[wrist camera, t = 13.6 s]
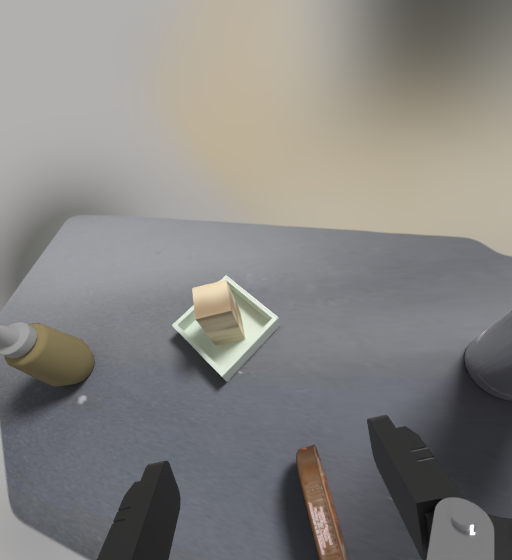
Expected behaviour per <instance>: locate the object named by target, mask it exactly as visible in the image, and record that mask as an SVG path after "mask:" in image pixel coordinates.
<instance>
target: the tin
mask: <svg viewBox="0 0 512 560" xmlns="http://www.w3.org/2000/svg"><path fill="white" fill-rule="evenodd" d="M296 462H297V468H298V473H299V478H300V483H301V487H302V492H303V496H304V500H305V504H306V508H307V513H308V517H309V521H310V525H311V529H312V533H313V537H314V541H315V545H316V549H317V553H318V557H319V560H349V558H348V555H347V551H346V547H345V544H344V540H343V536H342V533H341V529H340V526H339V522H338V519H337V515H336V512H335V508H334V505H333V501H332V498H331V494H330V491H329V487H328V484H327V480H326V477H325V474H324V470H323V467H322V464H321V460H320V457H319V454H318V452H317V449H316V446H315V444H313V446H309V447H306V448H302V449H299V450H298V451H297V454H296Z"/></svg>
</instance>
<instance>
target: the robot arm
mask: <svg viewBox="0 0 512 560" xmlns="http://www.w3.org/2000/svg"><path fill="white" fill-rule="evenodd" d="M465 365H466V368H467V371H468V373H469V375H470V376H471V378H472V379H473V380H474V382H475V383H476V384H477V385H478V386H479V387H480V388H482V389H483V390H484V391H486V392H487V393H489V394H491V395H493V396H495V397H498V398H500V399H504V400H509V401H512V311H511V312H510V313H509V314H507V315H506V316H505V317H504V318H502V319H501V320H500V321H498V322H497V323H496V324H494V325H493V326H492V327H490V328H489V329H488V330H486V331H485V332H484V333H482V334H481V335H480V336H479V337H477V338H476V339H475V340H473V341H472V342H471V343H470V344H469V345H468V347H467V349H466V352H465ZM367 423H368V429H369V435H370V441H371V447H372V452H373V456H374V460H375V462H376V465H377V468H378V470H379V472H380V474H381V476H382V478H383V480H384V482H385V484H386V486H387V488H388V490H389V492H390V495H391V497H392V499H393V501H394V503H395V505H396V507H397V509H398V511H399V513H400V515H401V517H402V519H403V521H404V523H405V525H406V527H407V529H408V531H409V533H410V536H411V538H412V540H413V542H414V544H415V546H416V548H417V550H418V552H419V554H420V556H421V558H422V560H512V519H507V518H500V517H496V516H492V515H489V514H487V513H485V512H484V511H483V510H482V509H481V508H480V507H478V506H477V505H475V504H474V503H472V502H470V501H468V500H466V499H465V498H464V497H463V495H462V494H461V493H460V491H459V490H458V489H457V487H456V486H455V484H454V483H453V482H452V480H451V479H450V478H449V476H448V475H447V474H446V472H445V471H444V469H443V468H442V467H441V465H440V464H439V463H438V461H437V460H436V459H435V458H434V456H433V455H432V453H431V452H430V450H429V449H427V446H426V445H425V444H424V442H423V441H422V440H421V438H420V437H419V435H417V434H416V433H415V432H413V431H412V430H410V429H409V428H407V427H406V426H405V427H400V428H395V426H394V424H393V423H392V421H391V420H390V418H389V417H388V416H387V415H384V416H379V417H374V418H369V419H367ZM179 511H180V493H179V489H178V486H177V483H176V481H175V478H174V475H173V472H172V469H171V466H170V464H169V462H168V461H163V462H158V463H153V464H149V465H147V467H146V468H145V471H144V473H143V476H142V478H141V481H139V482H135V483H134V484H133V485H132V487H131V488H130V489H129V490H128V492H127V493H126V494H125V496H124V498H123V500H122V503H121V505H120V507H119V512H117V514H116V517H115V519H114V523H113V524H112V526H111V528H110V530H109V533H108V535H107V537H106V540H105V542H104V544H103V547H102V549H101V551H100V554H99V556H98V558H97V560H168V559H169V554H170V550H171V546H172V541H173V537H174V532H175V528H176V524H177V519H178V515H179Z"/></svg>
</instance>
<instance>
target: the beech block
mask: <svg viewBox="0 0 512 560" xmlns="http://www.w3.org/2000/svg"><path fill="white" fill-rule="evenodd" d="M192 291H193V301H194V311H195V320H196V321H197V322H198V323H199V325H200V326H201V327H202V329H203V330H204V331H205V333H206V334H207V335H208V336H209V338H210V339H211V340H212V342H213V343H214V344H215V345H216V346H218V345H222V344H226V343H230V342H235V341H239V340H243V339H245V334H244V329H243V323H242V318H241V313H240V310H239V308H238V306H237V303H236V301H235V299H234V297H233V294H232V292H231V290H230V287H229V285H228V283H227V281H226V280H223V281H219V282H215V283H211V284H207V285H203V286H199V287H195V288H192Z"/></svg>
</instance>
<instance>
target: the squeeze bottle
mask: <svg viewBox="0 0 512 560" xmlns="http://www.w3.org/2000/svg"><path fill="white" fill-rule="evenodd" d="M0 354H1V355H4V356H5V360H6V362H7V363H8V365H10V366H12V367H14V368H16V369H18V370H20V371H22V372H24V373H26V374H28V375H30V376H32V377H34V378H36V379H38V380H40V381H42V382H44V383H47V384H49V385H51V386H64V385H71V384H77V383H79V382H82V381H84V380H85V379H86V378H87V377H88V376H89V375H90V373H91V372H92V370H93V367H94V363H95V360H94V356H93V354H92V352H91V351H90V349H89V347H88V346H87V344H86V343H85V342H84V341H83V340H82V339H79V338H77V337H74V336H71V335H69V334H66V333H64V332H61V331H58V330H56V329H53V328H50V327H48V326H45V325H42V324H40V323H34V324H29V325H28V324H25V323H23V322H17V323H13V324H11V325H9V326H3V325H0Z"/></svg>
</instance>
